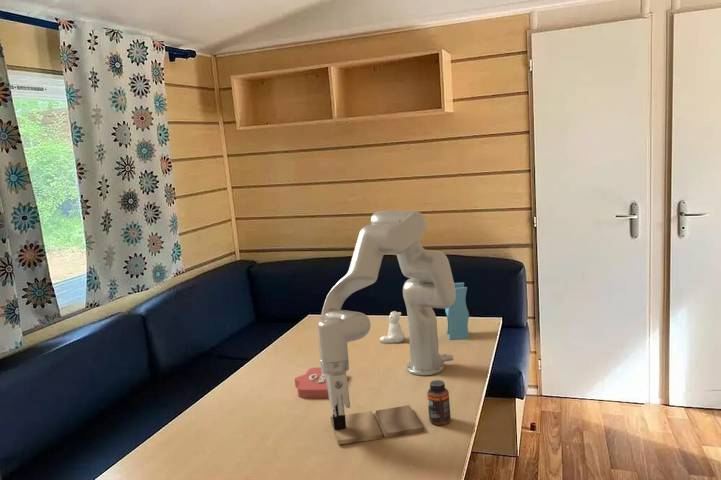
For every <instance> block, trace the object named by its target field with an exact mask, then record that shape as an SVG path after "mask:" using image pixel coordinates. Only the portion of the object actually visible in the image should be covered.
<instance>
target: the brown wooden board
mask: <svg viewBox="0 0 721 480" xmlns="http://www.w3.org/2000/svg"><path fill="white" fill-rule="evenodd" d="M372 413H373V415H374V417H375V419H376V421H377V423H378V425H379V428H380V430H381V432H382V434H383V439H387V438H391V437H399V436H404V435H410V434H415V433H421V432H422V433H423V432H424V426H423V425H422V424H421V422H420V419H419V418H418V416H417V415H416V413H415V412H414V410H413V409H412V406H410V404H407V405H402V406H395V407H390V408H384V409H379V410H375V412H372Z"/></svg>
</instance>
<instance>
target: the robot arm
mask: <svg viewBox="0 0 721 480" xmlns="http://www.w3.org/2000/svg"><path fill="white" fill-rule="evenodd" d="M426 227H427V221H426V218H425V216H424V215H423V214H422V213H421V212H420V211H416V210H390V209H389V210H387V209H385V210H384V209H383V210H382V209H380V210H378V211H376V212H374V213H373V214H372V215H371V217H370V224H368V225H364V226H363V227H362V228H361V229H360V231H359V232H358V235H357V238H356V242H355V245H354V250H353V253H352V256H351V260H350V264H349V267H348V270H347V272H346V274H345V275H344V276H343V277H341V278H340V279H339V280H338V281H337V282H336V283H335V285H333V287H332V288H331V289H330V291H329V292H328V293H327V295H326V298H325V300H324V301H323V302H324V303H323V307H322V309H321V313H320V321H319V322H318V324H317V335H318V347H319V350H318V351H319V358H320V359H319V360H320V367H321V372H322V373H324V374H326V382H327V391H328V396H329V398H328V399H329V403H330V406H331V408H332V412H333V413H332V417H333V424H334V429H335V430H341V429H346V420H345V415H346V413H345V408H346V409H350V408H351V400H350V391H349V390H350V389H349V381H348V375H347V372H348V371H349V370H350V364H349V363H350V362H349V351H348V350H349V349H348V343H350V342H355V341H359V340H361V339H363V338H365V337H366V336H367V335H368V333H369V331H370V330H371V320H370V318H369V316H367V315H366V314H365V313H364V312H359V311H352V310H345V309H342V307H343V304H344V303H345V301H346V300H347V299H348V298H349V297H350V296H351V295H352V294H353V293H356V292H357V291H360V290H362V289H364V288H367V287H368V286H370V285H373V284H374V283H376V282H377V280H378V277H379V272H380V269H381V266H382V260H383V258H384V255H391V256H392V255H393V256H396V257H397V258H396V259H397V262H398V264H399V268H400V270H401V273H402V275H403V276H404V277H406V278H408V279H407V280H406V281H404V284H403V286H402V297H403V300H404V303H405V307H406V313H407V324H408V340H409V353H410V362H408V363H407V364H406V371H407V372H408V373H410V374H412V375H417V376H432V375H437V374H439V373H441V372H442V371H443V370H445V362H451V361H452V362H453V361H454V356H453V354H449V355H448V354H447V353H442V354H441V353H439V339H438V338H439V337H438V321H437V316H436V315H437V314H436V313H435V311H434V309H444V310H445V308H449V307H451V306H452V305H453V304H454V302H455V298H456V291H455V285H454V283H455V281H454V278H453V273H452V268H451V265H450V260H449V258H448V257H447V255H446V254H445V253H444V252H443V251H441V250H434V249H425V247H423V246H422V245H423V244H422V243H421V239H422V237H423V236H424V235H425V232H426ZM334 429H333V430H334Z"/></svg>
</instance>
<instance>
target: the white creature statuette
mask: <svg viewBox="0 0 721 480" xmlns="http://www.w3.org/2000/svg"><path fill="white" fill-rule="evenodd" d="M401 316H402V312H401V311H399V312H398V311H396V310H393V311H391V312H390V314H389V317H388V323H389V324H388V325H389V326H388V332H387V335H383V336H380V338H379V343H381V344H399V343H401V342H403V341H404V340H405V333H404V331H403V329H402V326H401V324H400V322H399V320H400V319H401Z"/></svg>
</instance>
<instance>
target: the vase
mask: <svg viewBox="0 0 721 480" xmlns="http://www.w3.org/2000/svg"><path fill="white" fill-rule="evenodd" d="M454 285H455V291H456V298H455V302H454V304H453V305H452V306H451V307H449V308H445V309H444V310H445V315H446V319H447V328H446V329H447V330H446V335H448V336H449V341H454V340H469V338H470V333H469V326H468V325H469V318H470V313H469V310H468V307H467V302H466V296H467V290H468V287H467V286H465V282H454Z"/></svg>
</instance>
